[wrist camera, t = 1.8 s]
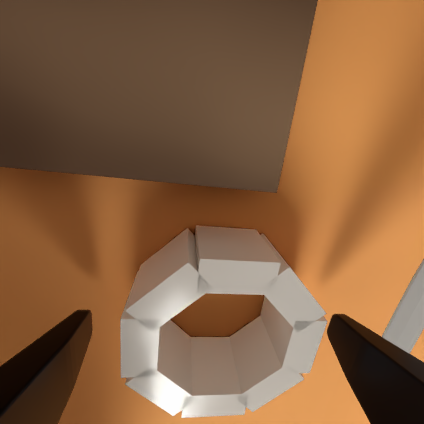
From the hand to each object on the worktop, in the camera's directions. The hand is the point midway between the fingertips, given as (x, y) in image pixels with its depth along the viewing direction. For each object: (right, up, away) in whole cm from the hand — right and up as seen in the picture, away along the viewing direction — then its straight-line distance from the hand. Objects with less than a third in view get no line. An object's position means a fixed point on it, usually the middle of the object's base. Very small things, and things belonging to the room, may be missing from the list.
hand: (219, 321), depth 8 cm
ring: (0, 0, +1) cm, 1 cm away
